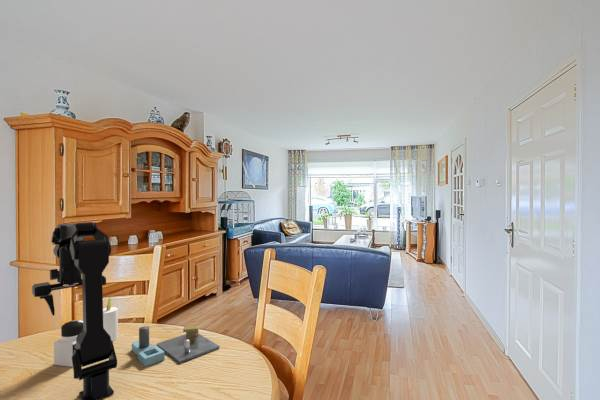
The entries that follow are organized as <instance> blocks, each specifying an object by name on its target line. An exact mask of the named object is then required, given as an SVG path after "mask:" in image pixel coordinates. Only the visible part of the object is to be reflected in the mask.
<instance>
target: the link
mask: <svg viewBox="0 0 600 400" xmlns="http://www.w3.org/2000/svg"><path fill="white" fill-rule="evenodd" d="M131 351H132V352H133V353H134V354H135V355H136V356H137V358H136V359H137V361H138V362H139V363H141V364H142V366H144V367H149V366H150V365H154V364H156V363H159V362H162V361H164V360H165V359H166V358H165V357H166V356H165V355H166V353H165V352H164V351H163V350H162V349H160V348H159V347H158V346H157V345H155V346H153V345H152V344H151V343H150V326H148V325H145V326H141V327H139V328H138V340H137V341H134V342H131Z"/></svg>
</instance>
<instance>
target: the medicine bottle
mask: <svg viewBox="0 0 600 400" xmlns="http://www.w3.org/2000/svg"><path fill="white" fill-rule="evenodd" d="M82 331H83V320H80V319H76V320H70V321H67V322H65V323H63V324H62V325H61V338H60V339H58V340H56V341H54V342H53V365H55V366H62V367H67V368H73V364H72V356H73V353H74V350H76V338H77V336H78V335H80V334H81V332H82Z"/></svg>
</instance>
